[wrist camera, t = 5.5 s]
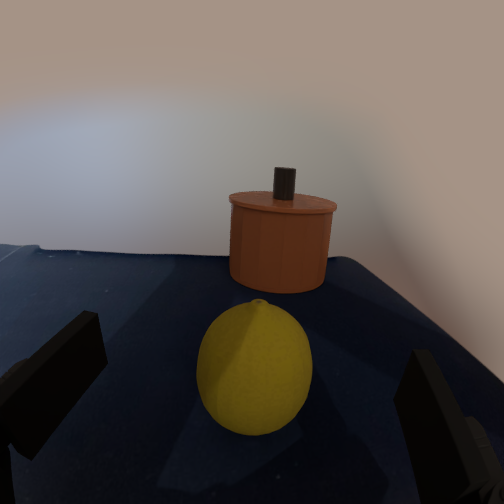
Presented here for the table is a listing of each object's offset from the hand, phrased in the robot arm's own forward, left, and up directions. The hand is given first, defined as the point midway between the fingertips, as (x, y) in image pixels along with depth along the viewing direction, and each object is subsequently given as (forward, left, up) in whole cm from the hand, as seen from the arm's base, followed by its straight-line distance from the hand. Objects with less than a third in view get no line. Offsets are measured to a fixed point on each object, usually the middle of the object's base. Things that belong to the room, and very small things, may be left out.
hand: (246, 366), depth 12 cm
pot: (+10, -24, -6) cm, 27 cm away
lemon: (+1, -2, -6) cm, 7 cm away
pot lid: (+10, -24, +2) cm, 26 cm away
